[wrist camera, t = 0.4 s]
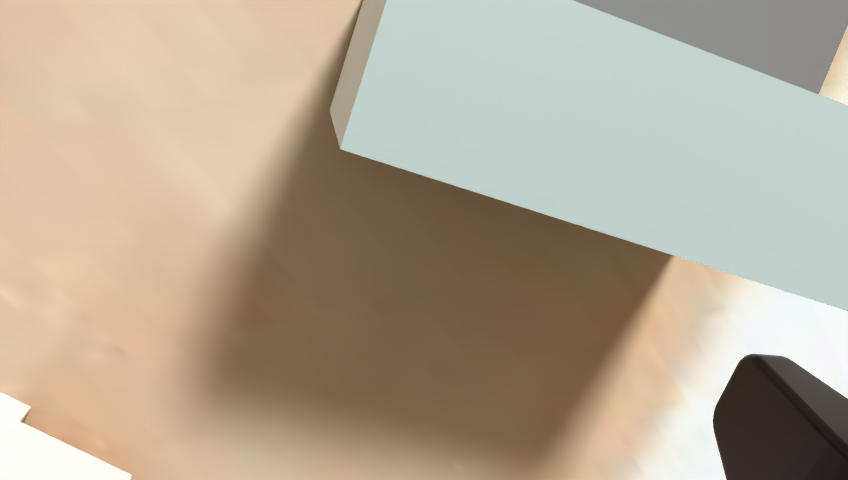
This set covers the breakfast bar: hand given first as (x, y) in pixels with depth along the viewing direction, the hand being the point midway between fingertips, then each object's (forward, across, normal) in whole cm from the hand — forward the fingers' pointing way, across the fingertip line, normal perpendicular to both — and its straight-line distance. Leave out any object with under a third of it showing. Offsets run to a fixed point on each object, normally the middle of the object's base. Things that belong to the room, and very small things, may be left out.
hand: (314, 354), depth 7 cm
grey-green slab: (+15, -6, +4) cm, 17 cm away
